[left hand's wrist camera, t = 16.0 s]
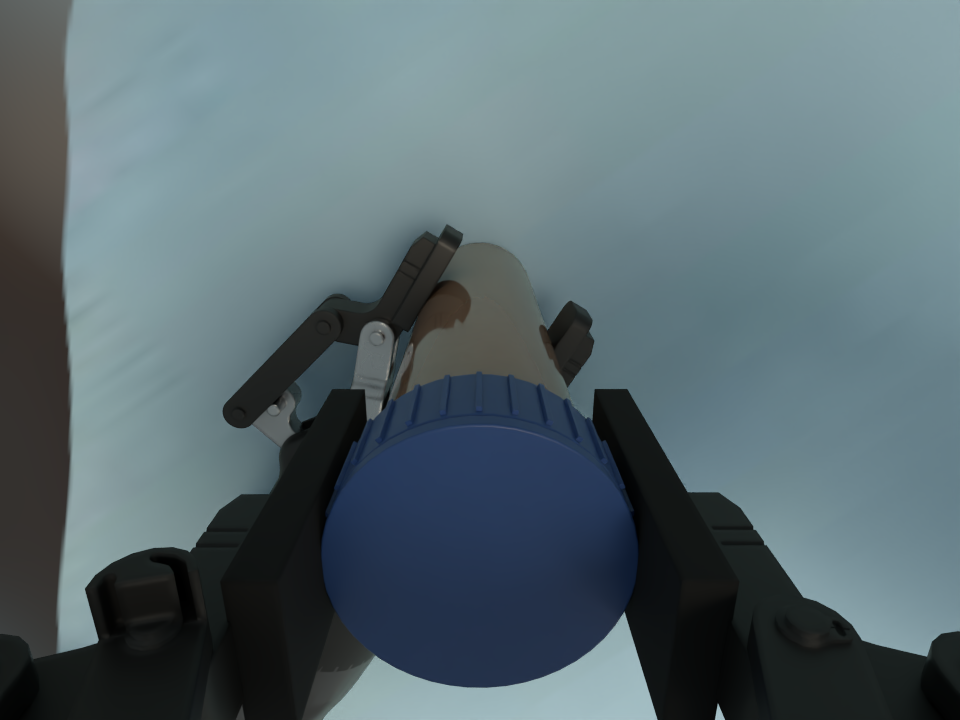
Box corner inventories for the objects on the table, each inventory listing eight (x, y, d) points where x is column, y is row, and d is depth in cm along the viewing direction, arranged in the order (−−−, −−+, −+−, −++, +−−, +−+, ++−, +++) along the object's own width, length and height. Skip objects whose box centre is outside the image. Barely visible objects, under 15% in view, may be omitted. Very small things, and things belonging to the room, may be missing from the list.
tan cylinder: (551, 296, 28) (667, 553, 11) (476, 361, 30) (472, 689, 12) (483, 220, 27) (489, 370, 10) (407, 290, 28) (290, 539, 11)
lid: (364, 342, 11) (338, 387, 9) (652, 400, 12) (689, 456, 10) (326, 582, 13) (297, 664, 11) (575, 624, 13) (593, 712, 11)
